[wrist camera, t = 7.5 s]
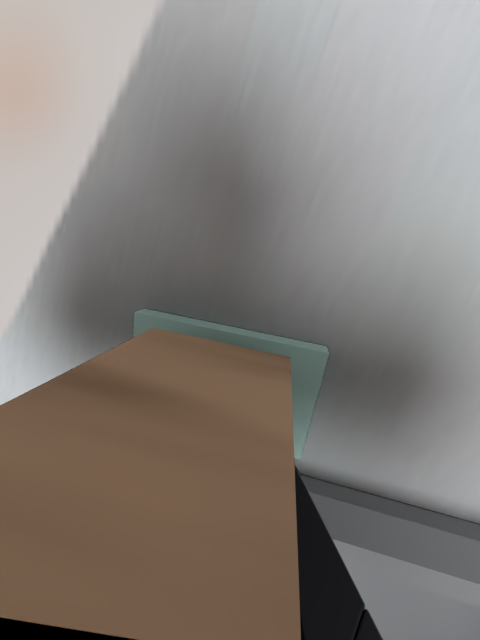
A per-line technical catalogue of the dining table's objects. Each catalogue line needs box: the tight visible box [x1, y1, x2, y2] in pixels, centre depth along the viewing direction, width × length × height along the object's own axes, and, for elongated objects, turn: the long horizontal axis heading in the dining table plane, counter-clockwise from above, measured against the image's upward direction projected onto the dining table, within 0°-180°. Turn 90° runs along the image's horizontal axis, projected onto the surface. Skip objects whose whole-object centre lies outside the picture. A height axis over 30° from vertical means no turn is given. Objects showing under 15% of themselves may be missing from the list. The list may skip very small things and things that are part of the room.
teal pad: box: [133, 309, 329, 460], centre depth 11 cm, size 8×5×1 cm, turn 81°
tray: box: [300, 475, 480, 640], centre depth 12 cm, size 18×14×2 cm
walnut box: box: [0, 328, 301, 640], centre depth 6 cm, size 5×5×7 cm
